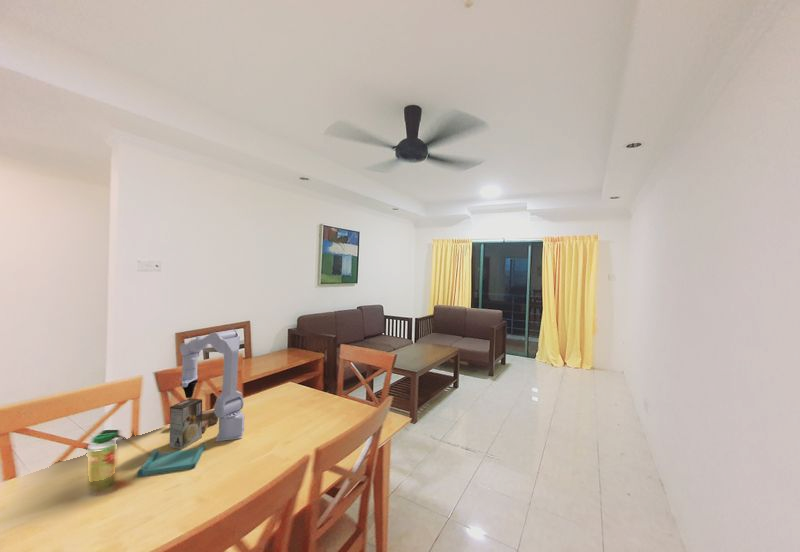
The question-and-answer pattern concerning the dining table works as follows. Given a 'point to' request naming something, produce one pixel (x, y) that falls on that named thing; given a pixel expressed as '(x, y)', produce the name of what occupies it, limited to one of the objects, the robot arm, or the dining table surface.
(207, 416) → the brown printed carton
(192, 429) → the coffee box
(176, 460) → the tray
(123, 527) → the dining table surface
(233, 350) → the robot arm
